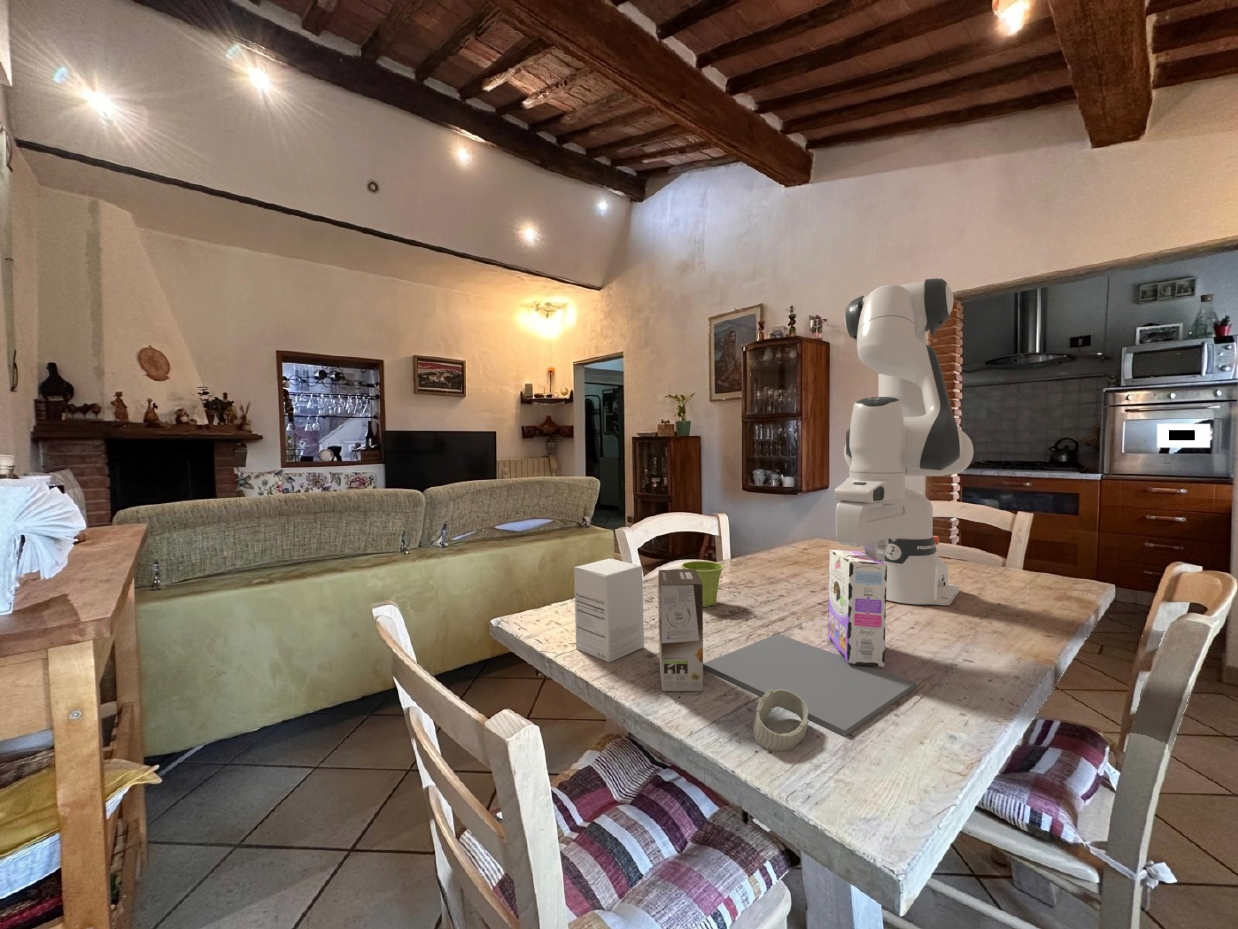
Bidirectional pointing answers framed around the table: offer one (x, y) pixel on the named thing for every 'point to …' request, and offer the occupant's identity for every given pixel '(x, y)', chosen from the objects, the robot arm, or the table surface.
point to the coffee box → (680, 630)
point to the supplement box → (609, 609)
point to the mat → (813, 680)
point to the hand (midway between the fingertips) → (875, 564)
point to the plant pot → (707, 578)
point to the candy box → (857, 606)
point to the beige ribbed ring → (764, 707)
